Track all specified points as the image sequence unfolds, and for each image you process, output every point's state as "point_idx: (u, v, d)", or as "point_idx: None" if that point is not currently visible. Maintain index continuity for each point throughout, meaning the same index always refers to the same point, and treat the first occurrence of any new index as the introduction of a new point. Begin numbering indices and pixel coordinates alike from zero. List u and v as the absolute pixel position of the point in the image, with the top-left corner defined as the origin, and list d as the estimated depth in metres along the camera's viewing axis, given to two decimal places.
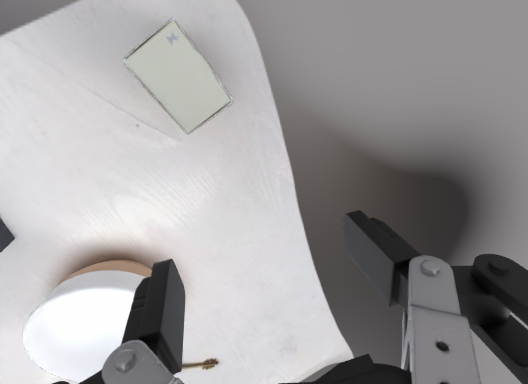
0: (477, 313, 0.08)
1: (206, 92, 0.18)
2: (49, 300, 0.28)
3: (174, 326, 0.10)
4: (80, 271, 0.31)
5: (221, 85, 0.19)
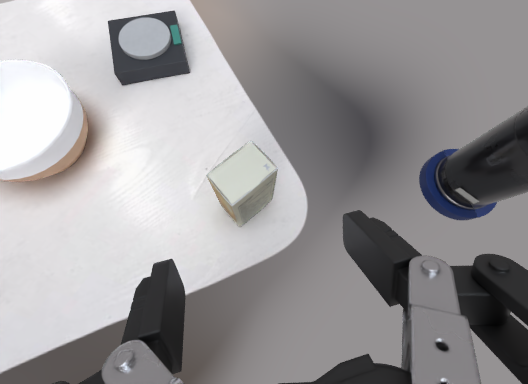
0: (477, 313, 0.08)
1: (236, 186, 0.26)
2: (66, 83, 0.34)
3: (174, 326, 0.10)
4: (84, 112, 0.37)
5: (241, 197, 0.26)
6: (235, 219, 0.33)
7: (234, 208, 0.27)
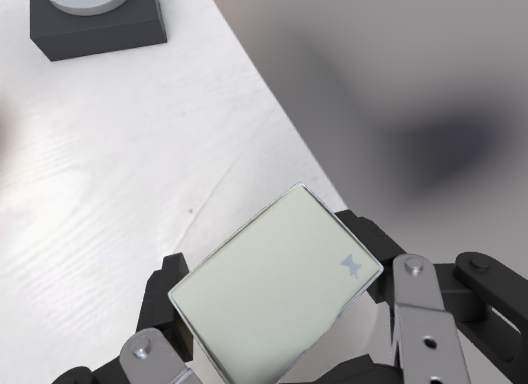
0: (459, 310, 0.09)
1: (261, 337, 0.08)
2: None
3: None
4: None
5: (279, 374, 0.08)
6: None
7: None
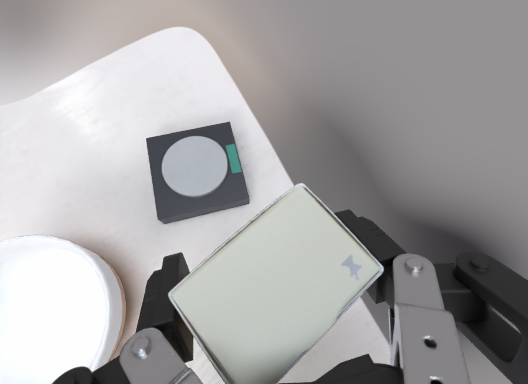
0: (459, 309, 0.09)
1: (261, 338, 0.08)
2: (103, 275, 0.25)
3: None
4: (122, 291, 0.28)
5: (280, 375, 0.08)
6: None
7: None
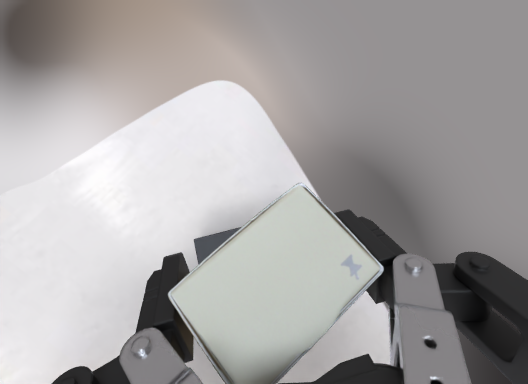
0: (459, 310, 0.09)
1: (261, 338, 0.08)
2: None
3: None
4: None
5: (279, 374, 0.08)
6: None
7: None
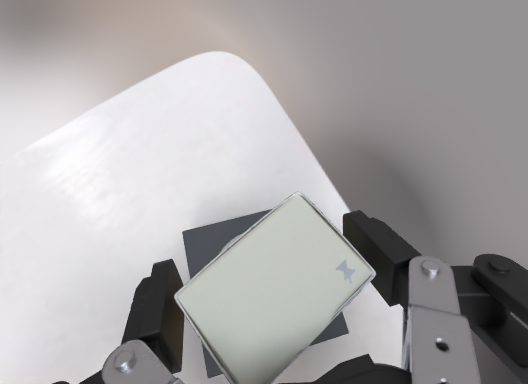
0: (477, 313, 0.08)
1: (261, 337, 0.09)
2: None
3: (174, 326, 0.10)
4: None
5: (278, 371, 0.09)
6: None
7: None
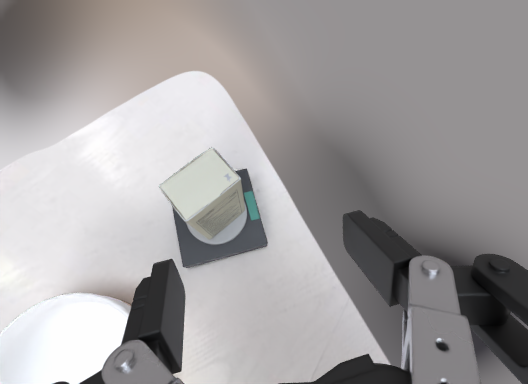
0: (477, 313, 0.08)
1: (192, 199, 0.23)
2: None
3: (174, 326, 0.10)
4: None
5: (197, 211, 0.23)
6: None
7: (191, 223, 0.24)
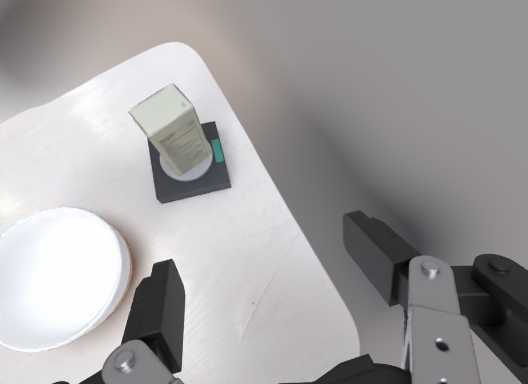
0: (477, 313, 0.08)
1: (153, 121, 0.29)
2: (115, 236, 0.33)
3: (174, 326, 0.10)
4: (129, 252, 0.36)
5: (158, 130, 0.29)
6: (168, 163, 0.36)
7: (154, 142, 0.30)
